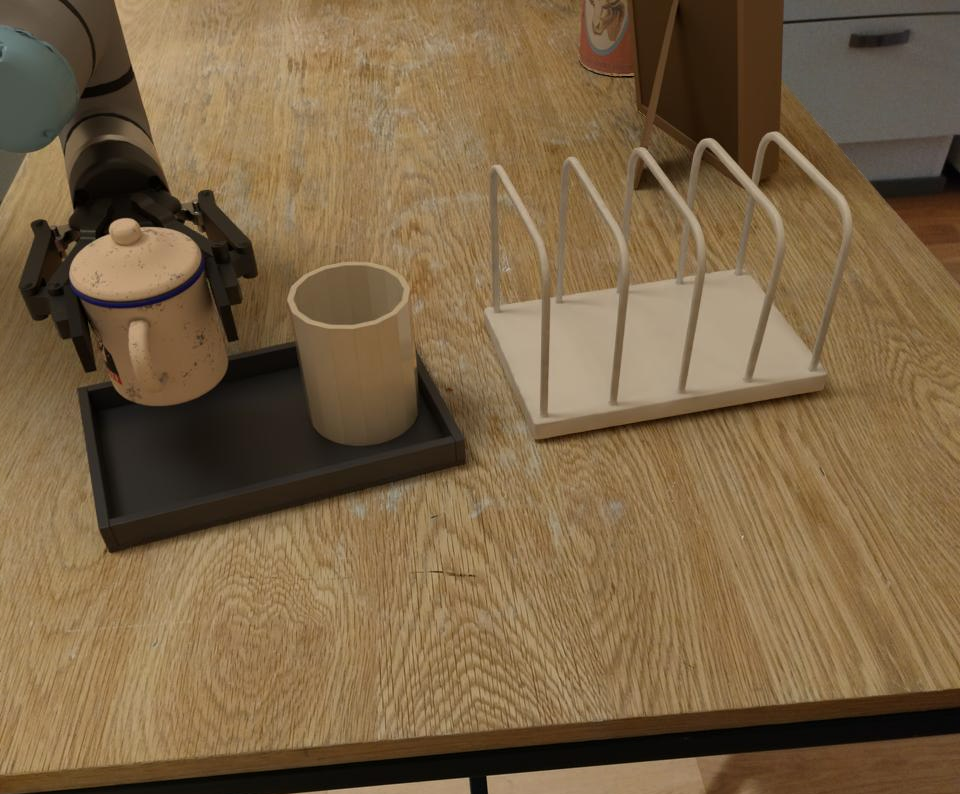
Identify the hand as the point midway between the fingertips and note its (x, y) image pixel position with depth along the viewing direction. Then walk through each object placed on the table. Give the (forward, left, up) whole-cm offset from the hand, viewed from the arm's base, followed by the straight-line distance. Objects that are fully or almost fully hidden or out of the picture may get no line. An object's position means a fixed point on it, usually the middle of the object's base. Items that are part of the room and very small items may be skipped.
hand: (157, 338), depth 64 cm
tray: (+6, +5, -13) cm, 15 cm away
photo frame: (+58, +38, -14) cm, 70 cm away
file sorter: (+39, +3, -14) cm, 41 cm away
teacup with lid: (0, +4, -7) cm, 8 cm away
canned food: (+65, +64, -14) cm, 92 cm away
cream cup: (+14, +5, -13) cm, 20 cm away
